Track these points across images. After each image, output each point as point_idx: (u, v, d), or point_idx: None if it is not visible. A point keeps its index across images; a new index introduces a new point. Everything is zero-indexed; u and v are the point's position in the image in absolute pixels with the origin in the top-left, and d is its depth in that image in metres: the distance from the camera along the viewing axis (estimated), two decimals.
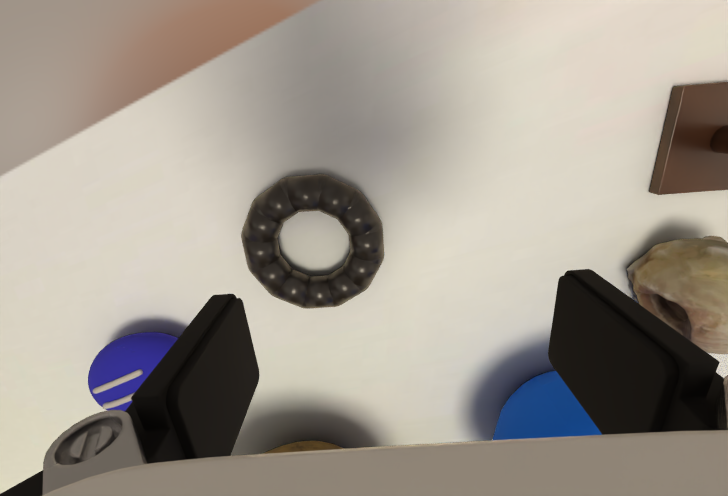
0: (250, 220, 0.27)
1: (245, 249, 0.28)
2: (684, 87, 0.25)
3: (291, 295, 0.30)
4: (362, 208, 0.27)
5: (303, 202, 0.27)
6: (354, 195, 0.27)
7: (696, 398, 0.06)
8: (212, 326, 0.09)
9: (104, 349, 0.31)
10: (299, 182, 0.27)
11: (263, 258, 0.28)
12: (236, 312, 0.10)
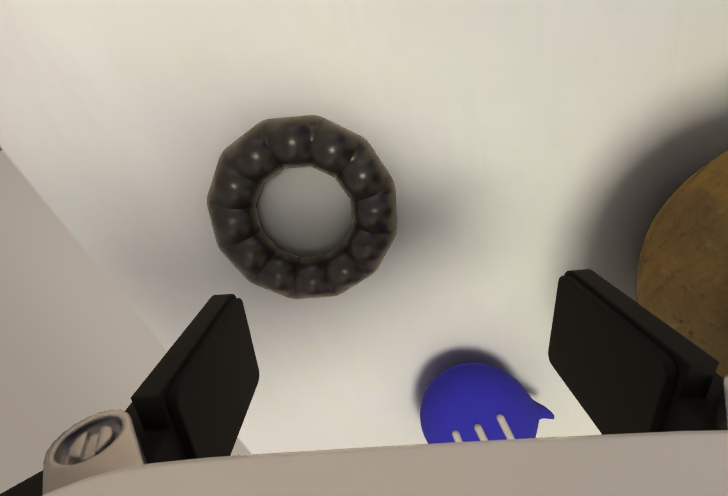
0: (269, 288, 0.23)
1: (307, 297, 0.23)
2: None
3: (368, 250, 0.22)
4: (235, 150, 0.20)
5: (234, 227, 0.21)
6: (220, 161, 0.20)
7: (696, 398, 0.06)
8: (212, 325, 0.09)
9: None
10: (214, 229, 0.22)
11: (315, 279, 0.23)
12: (236, 312, 0.10)
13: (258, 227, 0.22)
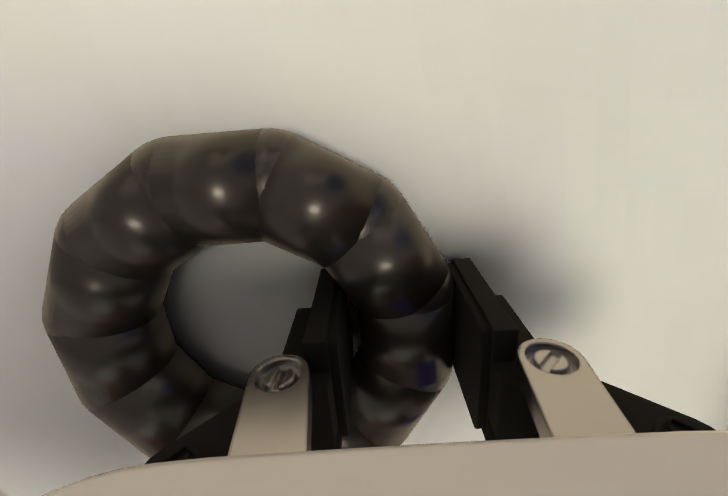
0: None
1: None
2: None
3: (394, 416, 0.10)
4: (81, 212, 0.08)
5: (102, 373, 0.10)
6: (54, 234, 0.09)
7: (505, 361, 0.07)
8: (334, 292, 0.10)
9: None
10: None
11: None
12: None
13: (166, 356, 0.11)
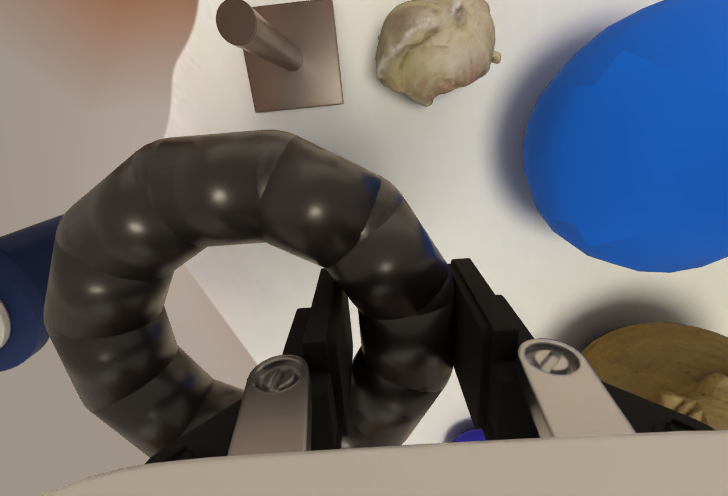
0: None
1: None
2: (256, 111, 0.32)
3: (394, 417, 0.10)
4: (82, 214, 0.08)
5: (103, 374, 0.10)
6: (56, 235, 0.09)
7: (505, 361, 0.07)
8: (334, 292, 0.10)
9: None
10: None
11: None
12: None
13: (167, 356, 0.11)
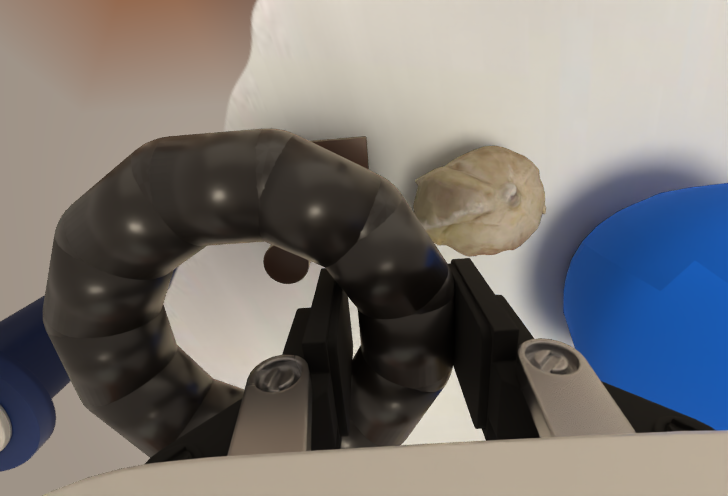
0: None
1: None
2: None
3: (394, 417, 0.10)
4: (81, 212, 0.08)
5: (103, 373, 0.10)
6: (55, 234, 0.09)
7: (505, 361, 0.07)
8: (334, 292, 0.10)
9: None
10: None
11: None
12: None
13: (167, 356, 0.11)
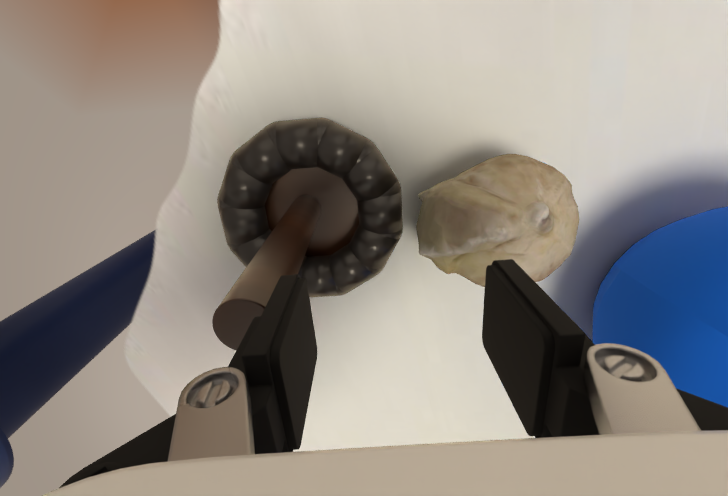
0: None
1: (314, 296, 0.24)
2: None
3: (374, 250, 0.22)
4: (245, 152, 0.20)
5: (244, 227, 0.22)
6: (230, 162, 0.21)
7: (569, 366, 0.07)
8: (289, 300, 0.09)
9: None
10: (224, 229, 0.22)
11: (321, 278, 0.23)
12: (304, 290, 0.10)
13: (266, 227, 0.23)
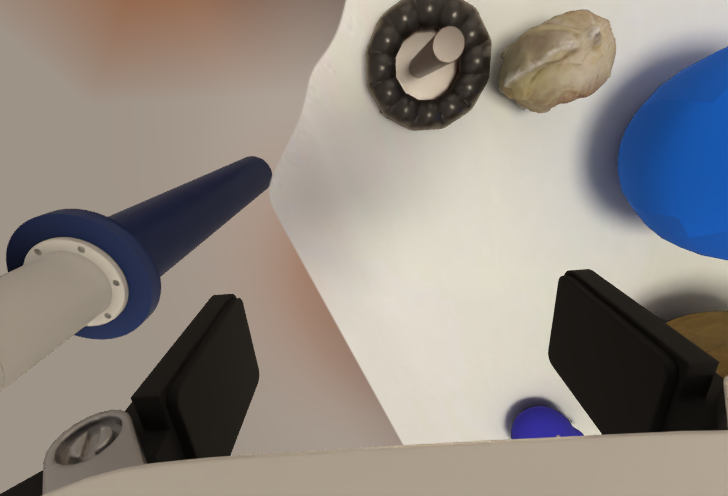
0: (399, 118, 0.34)
1: (424, 126, 0.34)
2: (381, 112, 0.36)
3: (471, 87, 0.33)
4: (393, 11, 0.31)
5: (385, 68, 0.32)
6: (382, 19, 0.31)
7: (696, 398, 0.06)
8: (212, 326, 0.09)
9: None
10: (370, 71, 0.33)
11: (433, 110, 0.34)
12: (236, 312, 0.10)
13: None
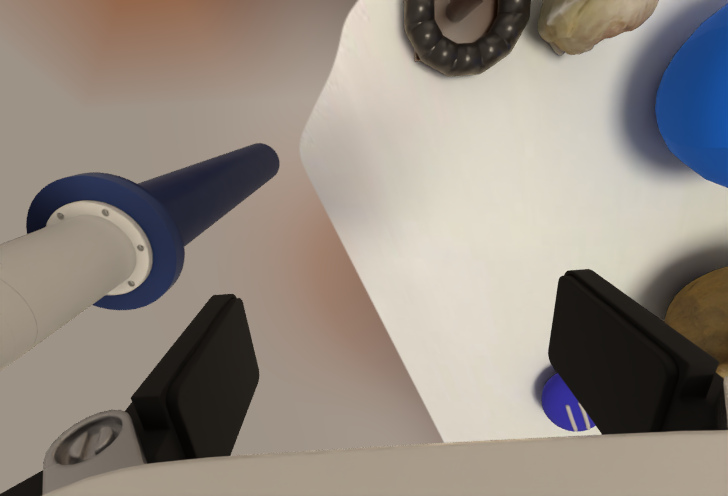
0: (438, 61, 0.33)
1: (463, 70, 0.34)
2: (417, 59, 0.36)
3: (512, 27, 0.32)
4: None
5: (425, 7, 0.32)
6: None
7: (696, 398, 0.06)
8: (212, 326, 0.09)
9: (548, 417, 0.51)
10: (408, 12, 0.32)
11: (472, 52, 0.33)
12: (236, 312, 0.10)
13: (434, 16, 0.33)
